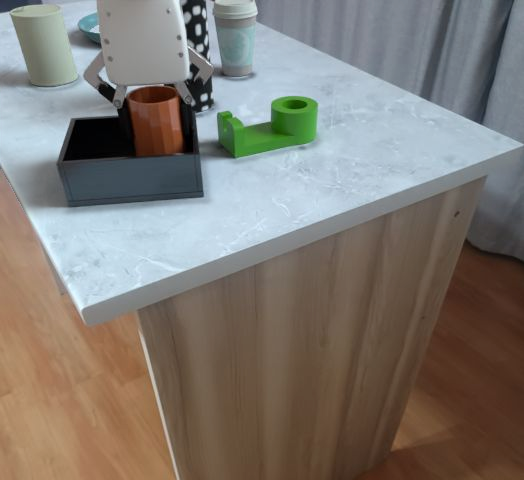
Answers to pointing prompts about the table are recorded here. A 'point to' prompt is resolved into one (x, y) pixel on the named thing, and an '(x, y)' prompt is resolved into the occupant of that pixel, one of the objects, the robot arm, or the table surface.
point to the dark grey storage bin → (123, 166)
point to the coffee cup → (235, 34)
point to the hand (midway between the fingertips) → (158, 132)
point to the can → (44, 44)
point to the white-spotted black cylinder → (197, 48)
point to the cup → (156, 120)
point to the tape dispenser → (270, 127)
